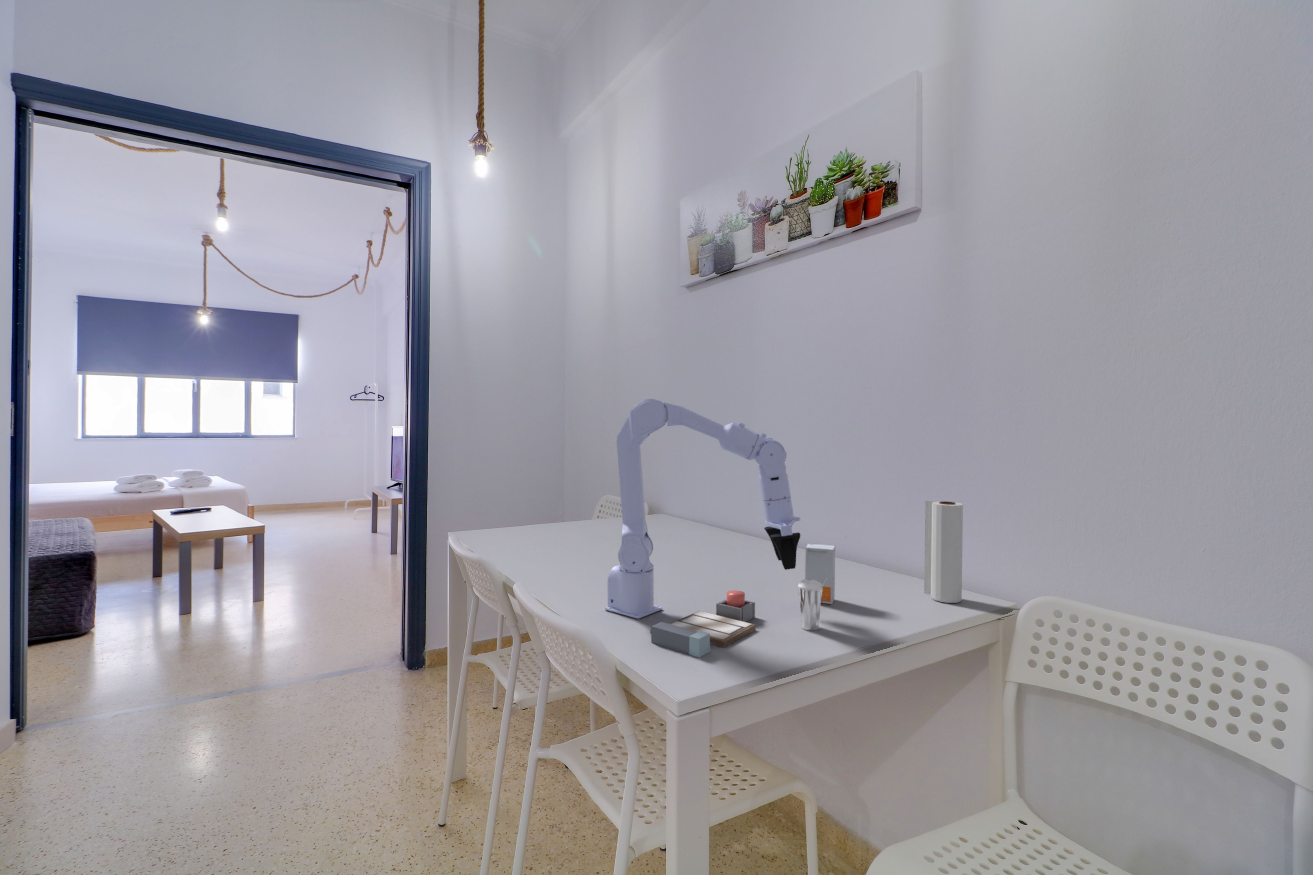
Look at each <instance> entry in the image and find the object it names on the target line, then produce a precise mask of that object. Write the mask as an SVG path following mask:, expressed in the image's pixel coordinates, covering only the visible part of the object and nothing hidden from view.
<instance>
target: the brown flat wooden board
mask: <svg viewBox="0 0 1313 875" xmlns="http://www.w3.org/2000/svg"><path fill="white" fill-rule="evenodd" d="M670 624H672V625H676V626H679V627H683V628H687V629H690V630H694V631H698V632H699V631H703V632H706V633H710V645H713V646H716V647H717V646H718V647H721V648H723V649H724V648H726V647H727V646H729V645H731V644H733V643H735V642H737V641H738V640H740V639H741V638H744V637H746V636H747V635H749V634H751V633H753V632H755V631H756V624H755V623H749V622H742V621H738V620H734V619H730V618H726V617H722V616H718V615H716V614H713V613H709V612H705V611H702V610H698V611H696V612H693V613H691V614H689V615H686V616H684V617H682V618H680V619H678V620H675V621H672V622H670Z"/></svg>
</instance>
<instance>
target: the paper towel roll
mask: <svg viewBox="0 0 1313 875" xmlns="http://www.w3.org/2000/svg"><path fill="white" fill-rule="evenodd" d="M924 502H925V503H924V504H925V507H924V508H925V509H924V514H925V517H924V586H923V587H924V588H923V589H924V592H923V593H924V594H929V595H930V598H931V600H934V601H937V602H941V603H947V604H958V603H961V602H962V597H963V596H962V594H963V592H962V590H963V588H962V586H963V535H964V534H963V530H964V529H963V523H964V519H963V518H964V511H963V510H964V504H963V503H961V502H955V501H943V500H942V501H940V500H938V501H937V500H925V501H924Z"/></svg>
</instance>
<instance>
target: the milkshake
mask: <svg viewBox="0 0 1313 875" xmlns="http://www.w3.org/2000/svg"><path fill="white" fill-rule="evenodd" d="M826 579H827V578H826ZM825 581H826V580H825ZM824 583H825V582H824ZM823 585H824V584H823ZM797 588H798V589H797V590H798V598H799V609H800V622H801V624H800V625H801V629H803V630H805V631H809V632H810V631H811V632H812V631H813V632H814V631H819V628H820V618H821V617H820V615H821V605H822V603H821V598H822V589H823V586H822V584H821V583H820V582H818V581H815V580H805V579H803V580H801V581H800V582H799V583H798V584H797Z"/></svg>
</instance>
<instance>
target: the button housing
mask: <svg viewBox="0 0 1313 875" xmlns="http://www.w3.org/2000/svg"><path fill="white" fill-rule="evenodd" d="M715 609H716V610H715V615H718V616H722V617H726V618H730V619H734V620H738V621H742V622H746V623H748V621H751V620H752V619H755V617H756V602H755V601H751V600H746V599H745V606H743V607H740V608H737V607H733V606H729V605H727V598H725V599H724V600H722V601H720V602H717V603H715Z"/></svg>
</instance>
